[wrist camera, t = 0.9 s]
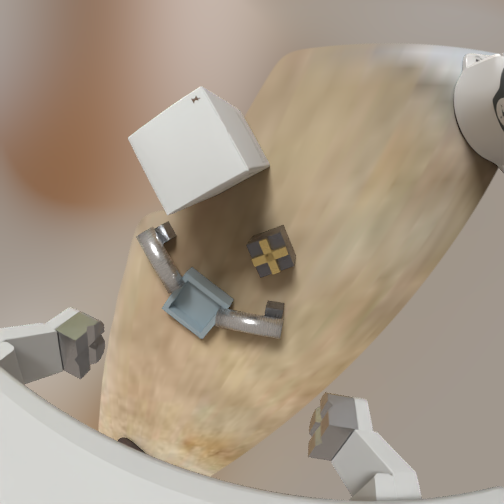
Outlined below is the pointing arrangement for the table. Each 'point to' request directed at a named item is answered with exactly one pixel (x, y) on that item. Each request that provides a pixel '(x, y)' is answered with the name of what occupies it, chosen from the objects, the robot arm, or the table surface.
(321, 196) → the table surface
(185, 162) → the supplement box
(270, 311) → the shaft
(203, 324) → the housing
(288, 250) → the block
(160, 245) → the shaft
